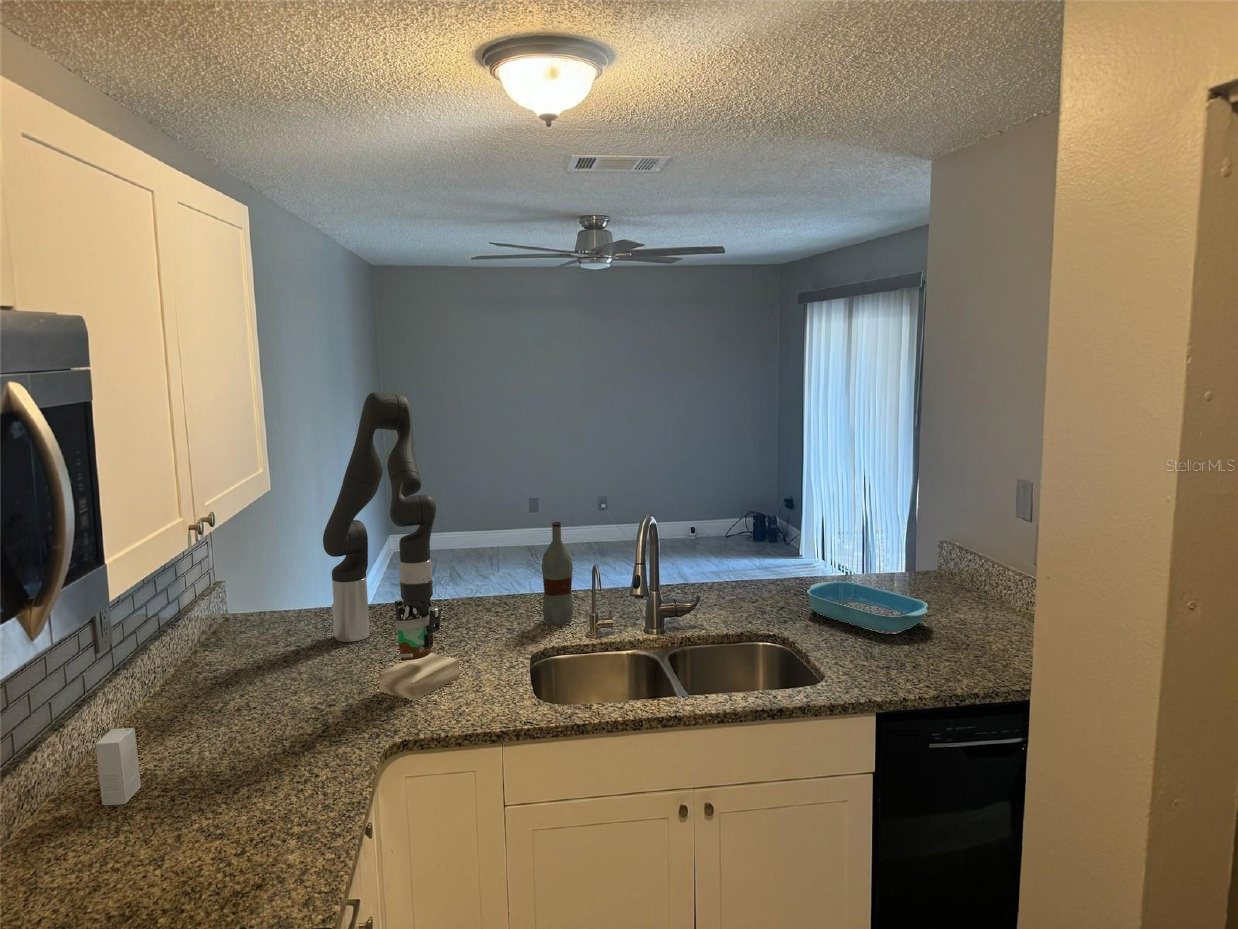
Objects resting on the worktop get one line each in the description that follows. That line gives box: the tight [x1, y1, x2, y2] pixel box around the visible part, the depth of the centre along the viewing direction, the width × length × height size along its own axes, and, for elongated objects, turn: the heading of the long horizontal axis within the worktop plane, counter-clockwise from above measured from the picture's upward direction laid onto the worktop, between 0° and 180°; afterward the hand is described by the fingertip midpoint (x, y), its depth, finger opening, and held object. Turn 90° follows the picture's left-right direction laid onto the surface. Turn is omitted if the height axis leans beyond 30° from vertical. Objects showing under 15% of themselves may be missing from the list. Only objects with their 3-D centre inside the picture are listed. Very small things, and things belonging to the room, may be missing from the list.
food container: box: [395, 616, 432, 661], centre depth 201 cm, size 12×6×10 cm, turn 167°
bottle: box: [541, 521, 574, 626], centre depth 247 cm, size 9×9×30 cm
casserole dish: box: [806, 580, 929, 632], centre depth 249 cm, size 37×22×7 cm, turn 40°
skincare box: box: [94, 727, 142, 806], centre depth 153 cm, size 6×4×12 cm
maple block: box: [378, 652, 461, 702], centre depth 203 cm, size 11×16×5 cm
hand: (419, 645), depth 202 cm, fingers closed on food container, 6 cm apart
